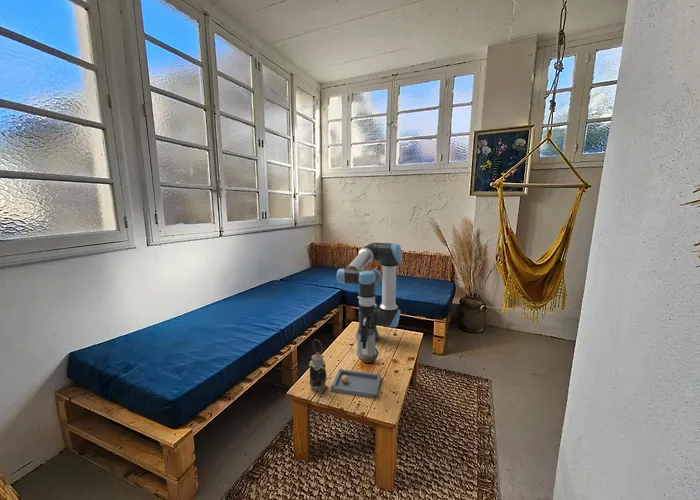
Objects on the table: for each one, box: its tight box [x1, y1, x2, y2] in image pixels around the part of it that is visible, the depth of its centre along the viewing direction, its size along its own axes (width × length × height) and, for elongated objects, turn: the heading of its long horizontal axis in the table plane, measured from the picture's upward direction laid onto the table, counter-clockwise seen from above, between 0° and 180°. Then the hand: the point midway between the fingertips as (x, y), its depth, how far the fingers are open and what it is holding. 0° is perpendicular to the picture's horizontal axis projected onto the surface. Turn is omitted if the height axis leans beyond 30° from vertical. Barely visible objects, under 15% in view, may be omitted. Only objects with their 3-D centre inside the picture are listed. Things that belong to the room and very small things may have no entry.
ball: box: [341, 375, 349, 383], centre depth 142 cm, size 4×4×4 cm
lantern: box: [308, 338, 327, 392], centre depth 137 cm, size 9×8×25 cm
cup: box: [356, 329, 376, 357], centre depth 136 cm, size 8×8×10 cm
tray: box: [330, 368, 382, 399], centre depth 141 cm, size 16×22×2 cm
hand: (366, 349), depth 137 cm, fingers closed on cup, 8 cm apart
